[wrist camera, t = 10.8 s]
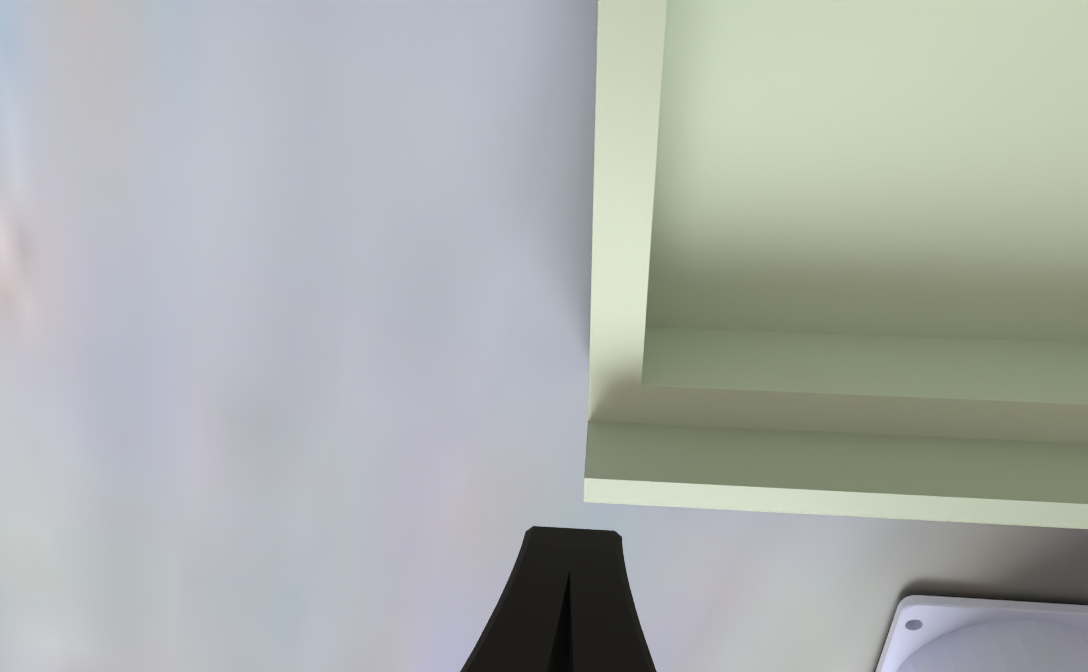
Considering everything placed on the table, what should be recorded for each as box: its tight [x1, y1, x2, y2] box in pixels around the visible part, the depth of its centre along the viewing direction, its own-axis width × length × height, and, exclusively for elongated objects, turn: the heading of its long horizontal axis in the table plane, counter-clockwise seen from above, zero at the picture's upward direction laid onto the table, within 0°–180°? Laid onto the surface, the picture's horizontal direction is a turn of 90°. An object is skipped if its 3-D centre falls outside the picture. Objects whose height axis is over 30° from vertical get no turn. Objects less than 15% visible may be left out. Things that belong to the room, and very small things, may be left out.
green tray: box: [584, 0, 1088, 529], centre depth 16 cm, size 13×17×5 cm
